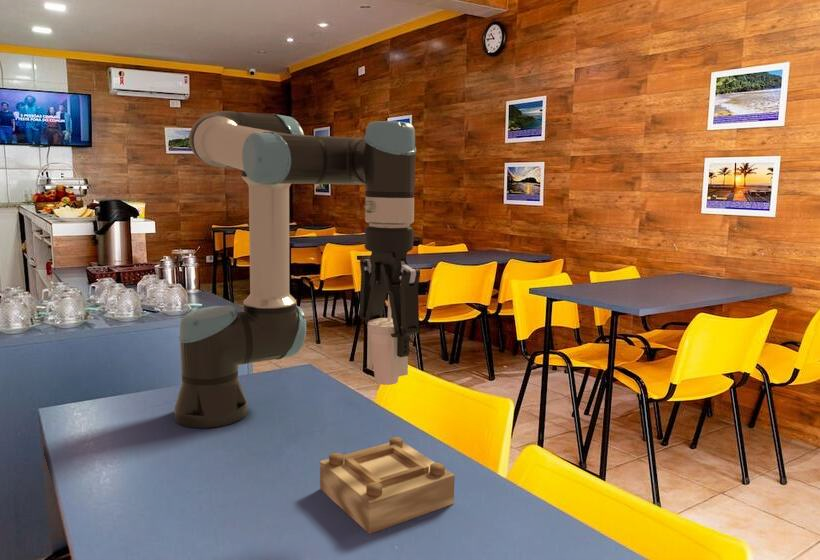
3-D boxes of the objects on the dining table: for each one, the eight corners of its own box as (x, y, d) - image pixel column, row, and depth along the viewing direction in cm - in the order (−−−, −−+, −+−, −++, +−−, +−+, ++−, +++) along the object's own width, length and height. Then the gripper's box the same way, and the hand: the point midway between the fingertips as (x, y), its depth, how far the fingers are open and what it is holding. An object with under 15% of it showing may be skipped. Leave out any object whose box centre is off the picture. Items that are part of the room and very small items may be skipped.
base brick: (320, 488, 105) (320, 454, 104) (398, 465, 114) (399, 433, 113) (369, 534, 92) (370, 495, 91) (453, 503, 101) (454, 467, 100)
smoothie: (413, 379, 101) (415, 294, 99) (392, 390, 96) (394, 301, 93) (380, 372, 104) (382, 290, 102) (358, 382, 99) (359, 296, 96)
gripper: (337, 221, 101) (337, 358, 105) (404, 231, 86) (401, 391, 90) (376, 220, 106) (375, 351, 109) (447, 229, 90) (442, 382, 94)
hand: (386, 369), depth 100 cm, fingers closed on smoothie, 6 cm apart
